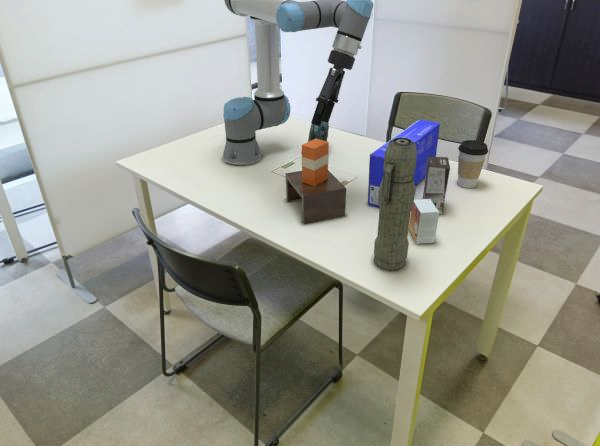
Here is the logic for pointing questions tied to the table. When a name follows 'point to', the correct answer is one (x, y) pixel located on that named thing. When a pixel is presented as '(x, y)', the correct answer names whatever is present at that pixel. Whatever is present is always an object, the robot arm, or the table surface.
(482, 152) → the coffee cup
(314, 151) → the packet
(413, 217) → the small box
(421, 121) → the blue cardboard box
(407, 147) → the thermos
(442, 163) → the coffee box
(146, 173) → the table surface
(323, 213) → the small wooden table
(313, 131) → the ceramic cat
